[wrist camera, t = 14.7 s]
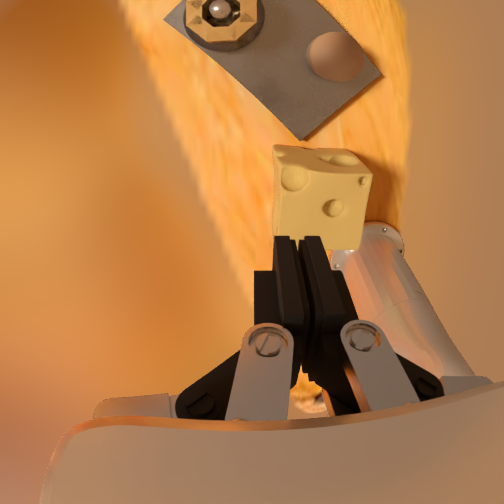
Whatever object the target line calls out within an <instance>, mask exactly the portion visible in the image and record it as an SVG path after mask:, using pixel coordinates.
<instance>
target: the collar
mask: <svg viewBox="0 0 504 504" xmlns="http://www.w3.org/2000/svg"><path fill="white" fill-rule="evenodd" d="M214 1H216V0H187V1H186V26H187V27H189V28H190V29H191V30H193V31H194V32H195V33H196V34H198V35H199V36H200V37H201V38H203V39H204V40H205V41H206V42H208V43H210V44H224V43H238V42H239V41H240V40H241V39H242V38H244V37H245V36H246V35H247V34H248V33H249V32H250V31H252V30H253V29H254V28H255V27H256V24H257V0H225V1H232V2H233V3H234V4H236V5H237V6H238V7H239V8H240V17H239V18H238V19H237V20H236V21H234V22H233V23H232V24H231V25H230V26H225V27H212V26H211V25H210V24H209V23H207V10H208V9H209V7H210V5H211V3H212V2H214Z"/></svg>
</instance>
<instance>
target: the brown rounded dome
mask: <svg viewBox="0 0 504 504" xmlns="http://www.w3.org/2000/svg"><path fill="white" fill-rule="evenodd" d="M306 55H307V61H308V64H309V66H310V68H311V69H312V71H313V72H314V73H315V74H317V75H318V76H320V77H322V78H324V79H327V80H332V81H339V82H342V81H348V80H351V79H353V78H354V77H356V76H357V75H358V74H359V72H360V71H361V69H362V67H363V63H364V55H363V51H362V49H361V47H360V45H359V44H358V42H357V41H356V40H355V39H354V38H352V37H351V36H349V35H347V34H345V33H342V32H328V33H325V34H323V35H320V36H318V37H316V38H315V39H314V40H312V42H311V43H310V44H309V46H308V49H307V54H306Z"/></svg>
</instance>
